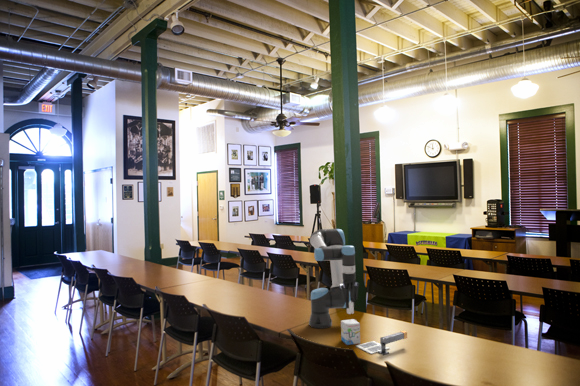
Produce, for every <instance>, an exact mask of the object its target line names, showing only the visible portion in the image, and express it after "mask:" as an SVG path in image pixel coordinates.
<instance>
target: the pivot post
mask: <svg viewBox="0 0 580 386" xmlns="http://www.w3.org/2000/svg"><path fill="white" fill-rule="evenodd" d="M386 345H387V344H386ZM386 345H381V351H378V353H377V354H380V355H382V356H386V355H389V354H390V352H389V351H388V350H386V347H387V346H386Z"/></svg>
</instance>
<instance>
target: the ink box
mask: <svg viewBox="0 0 580 386" xmlns="http://www.w3.org/2000/svg"><path fill="white" fill-rule="evenodd" d="M340 331H341V333H340V336H341V337H340V338H341V341H342V342H343V343H344V344H345V345H346V346H349V345H351V346H352V345H360V344H361V324H360V322H358V321H357V319H355V318H351V319H343V320H340Z"/></svg>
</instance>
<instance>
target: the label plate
mask: <svg viewBox="0 0 580 386" xmlns="http://www.w3.org/2000/svg"><path fill="white" fill-rule="evenodd" d="M355 348H357V349H359V350H361V351H364V352H366V353H368V354H370V355H374V354H379V353H378V351H381V344H380V342H378V341H375V340H371V341H367V342H365V343H359V344H355ZM388 350H391V349H390V347H388V346H386V351H388Z"/></svg>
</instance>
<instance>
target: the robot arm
mask: <svg viewBox="0 0 580 386" xmlns="http://www.w3.org/2000/svg"><path fill="white" fill-rule="evenodd" d="M309 243H310V245H311V246H312V247H313V248H314V250H313V253H314V255H313V256H314V260H315V261H317V262H319V261H320V262H322V261H323V262H324V261H329V263H330V273H331V275H330V276H331V281H332V282H331V284H332V285H331V286H330V290H329V288H326V287H319V288H315V289H313V290H311V292H310V307H311V308H310V309H311V310H310V317H309V320H308V326H309V325H310V326H311V328H313V327H314V328H313V329H327V328H328V329H329V328H331V327H332V326H333V320H332V318H331V316H330V309H346V314H348V315H351V314H352V315H353V314H354V313H355V309H354V308H355V303H356V301H357V300H358V296H359V295H358V293H359V287H360V283H359V282H357V281H356V275H357V274H356V251H355V250H356V249H355V246H354V245H346V238H345V233H344V230H342V229H340V228H326V229H325V228H324V229H323V228H322V229H321V228H320V229H317V230H315V231H314V232H313V233H311V235H310V236H309ZM310 326H309V327H310Z"/></svg>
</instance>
